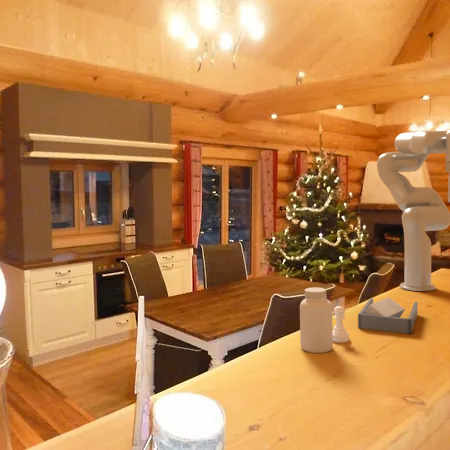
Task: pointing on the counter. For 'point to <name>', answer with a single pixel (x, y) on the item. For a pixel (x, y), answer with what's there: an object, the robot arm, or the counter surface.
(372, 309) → the skincare box
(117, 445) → the counter surface
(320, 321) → the pill bottle
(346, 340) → the chess pawn
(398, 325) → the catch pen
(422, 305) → the counter surface
